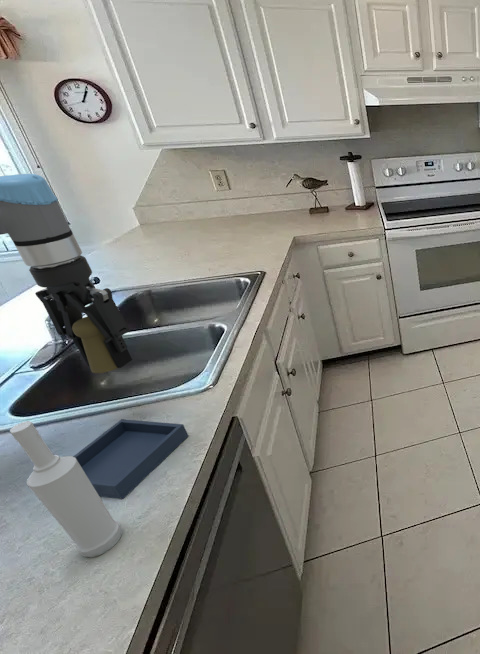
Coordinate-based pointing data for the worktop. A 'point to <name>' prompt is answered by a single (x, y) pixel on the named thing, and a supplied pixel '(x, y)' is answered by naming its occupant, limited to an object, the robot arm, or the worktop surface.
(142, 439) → the tray
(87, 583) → the worktop surface
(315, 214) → the worktop surface
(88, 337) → the cork
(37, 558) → the worktop surface
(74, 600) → the worktop surface
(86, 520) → the bottle
